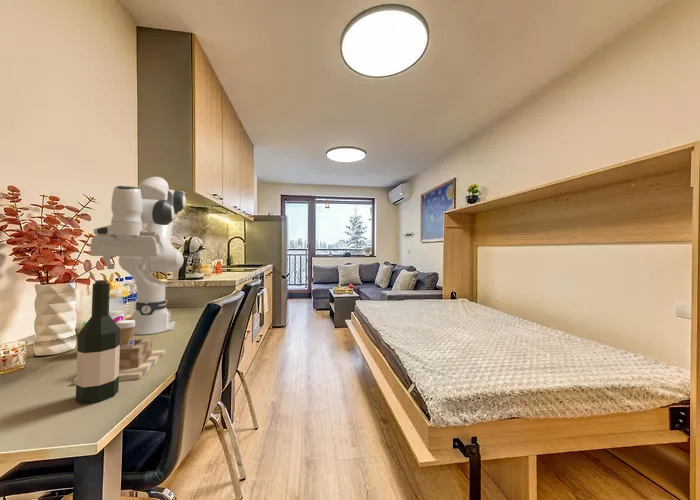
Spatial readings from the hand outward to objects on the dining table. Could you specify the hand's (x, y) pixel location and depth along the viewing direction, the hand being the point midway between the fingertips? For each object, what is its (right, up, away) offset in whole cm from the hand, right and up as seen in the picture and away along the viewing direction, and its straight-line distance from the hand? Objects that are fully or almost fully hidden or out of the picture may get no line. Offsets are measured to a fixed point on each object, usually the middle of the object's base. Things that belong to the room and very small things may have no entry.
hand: (126, 269), depth 104 cm
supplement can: (-10, -31, +4) cm, 33 cm away
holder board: (+8, -31, -11) cm, 34 cm away
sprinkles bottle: (+8, -30, -11) cm, 33 cm away
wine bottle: (+15, -31, -29) cm, 45 cm away
